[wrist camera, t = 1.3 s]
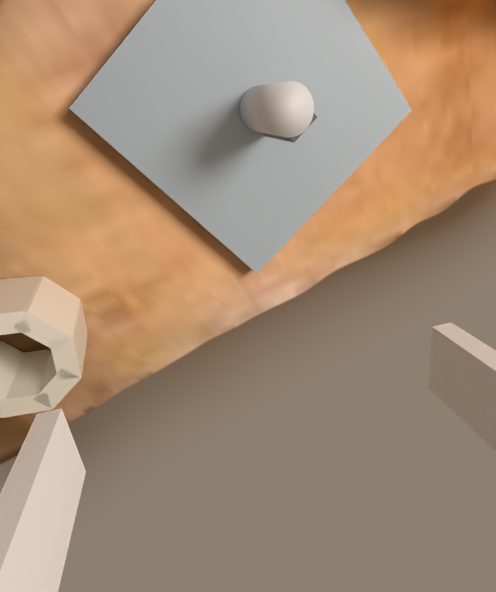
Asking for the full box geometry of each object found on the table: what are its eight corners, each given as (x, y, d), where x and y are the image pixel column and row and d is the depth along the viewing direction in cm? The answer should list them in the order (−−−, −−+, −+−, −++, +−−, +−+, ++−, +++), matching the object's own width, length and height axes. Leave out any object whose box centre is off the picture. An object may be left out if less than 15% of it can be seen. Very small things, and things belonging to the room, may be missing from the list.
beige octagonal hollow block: (-67, 353, 31) (-106, 404, 25) (13, 256, 29) (-11, 289, 24) (30, 398, 34) (14, 450, 29) (105, 315, 33) (102, 354, 28)
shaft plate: (70, 108, 26) (55, 109, 20) (257, -123, 24) (305, -203, 18) (252, 268, 35) (281, 304, 29) (402, 109, 33) (468, 110, 27)
